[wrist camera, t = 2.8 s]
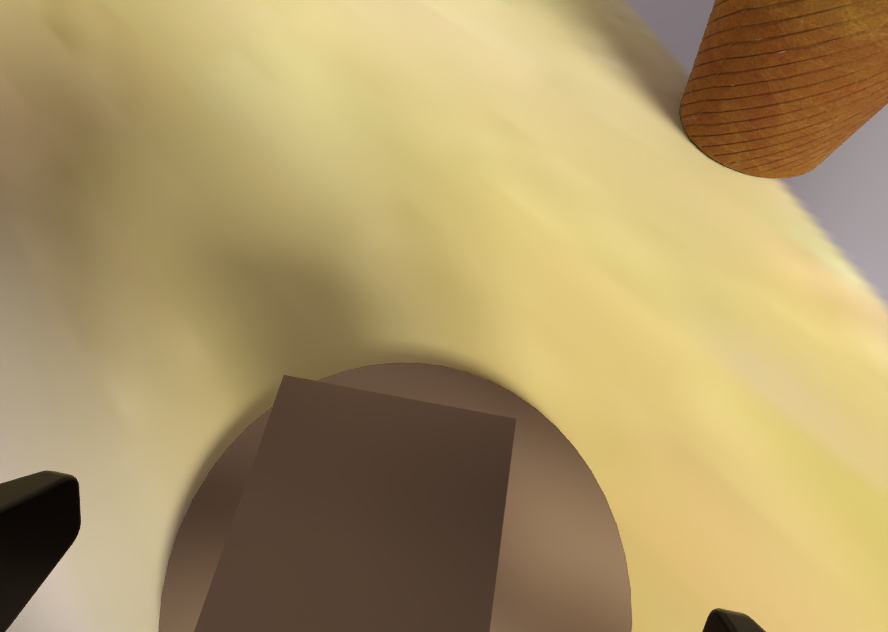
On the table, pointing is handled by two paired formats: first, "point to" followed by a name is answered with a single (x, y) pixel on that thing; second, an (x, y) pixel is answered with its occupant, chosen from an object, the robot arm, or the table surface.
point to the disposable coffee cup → (785, 81)
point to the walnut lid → (398, 517)
